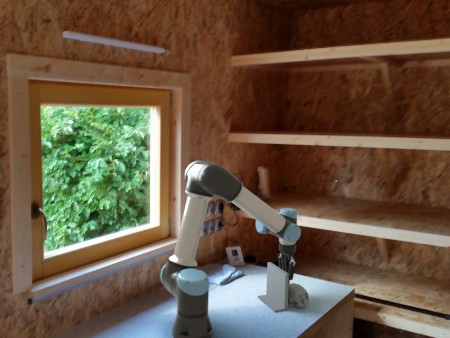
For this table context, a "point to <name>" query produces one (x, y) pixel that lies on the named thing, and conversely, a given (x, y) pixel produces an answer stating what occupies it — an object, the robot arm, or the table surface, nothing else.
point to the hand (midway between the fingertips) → (285, 292)
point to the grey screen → (276, 288)
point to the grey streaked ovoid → (297, 295)
